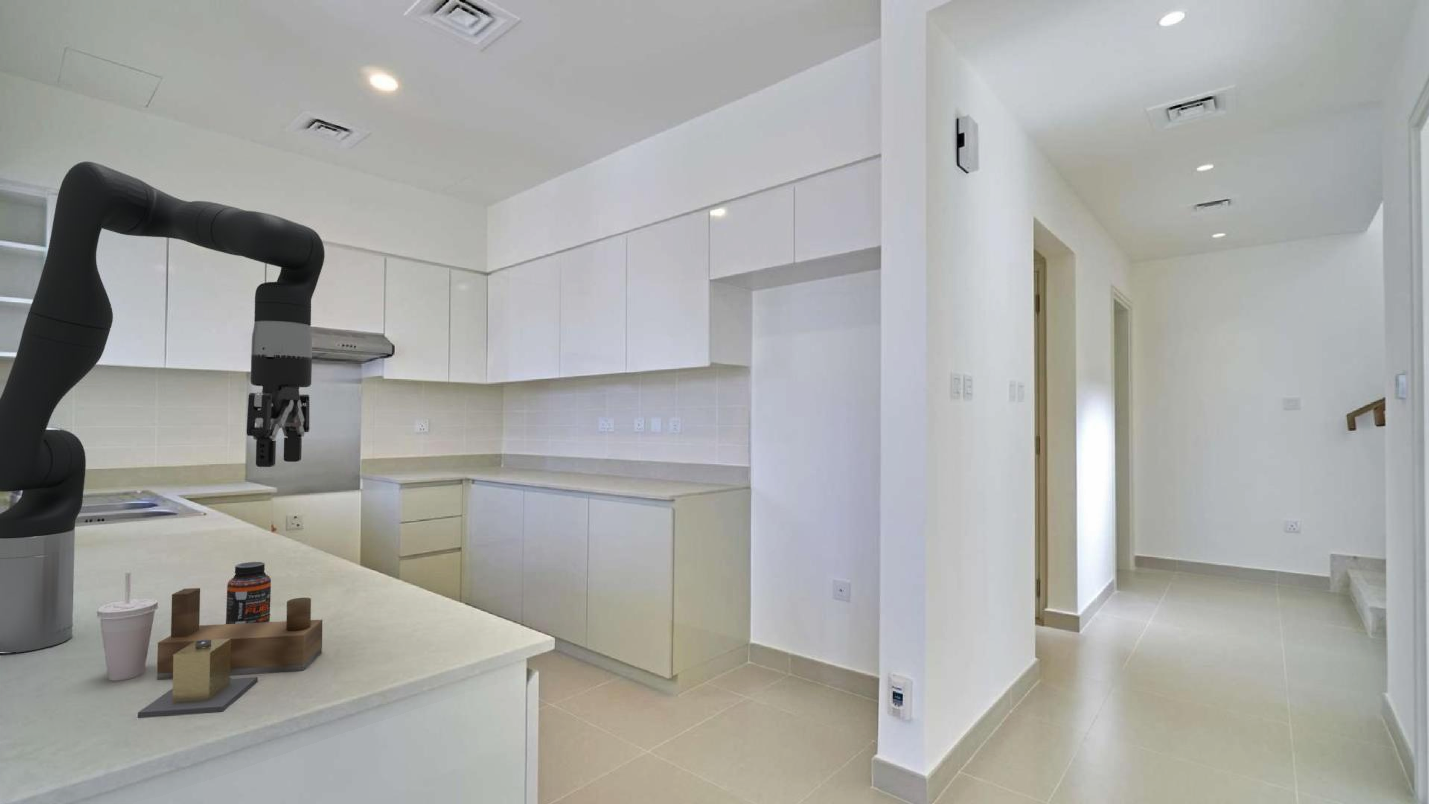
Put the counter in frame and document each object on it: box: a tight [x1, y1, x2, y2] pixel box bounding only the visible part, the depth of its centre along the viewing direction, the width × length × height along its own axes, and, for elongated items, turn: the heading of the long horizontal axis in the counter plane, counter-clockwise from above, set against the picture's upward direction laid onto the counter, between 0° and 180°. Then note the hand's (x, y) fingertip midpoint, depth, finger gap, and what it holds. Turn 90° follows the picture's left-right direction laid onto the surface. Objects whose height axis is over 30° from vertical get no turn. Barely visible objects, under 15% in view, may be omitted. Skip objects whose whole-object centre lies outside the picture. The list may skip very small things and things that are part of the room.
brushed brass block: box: [172, 639, 231, 703], centre depth 84 cm, size 4×5×7 cm
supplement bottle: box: [225, 561, 272, 624], centre depth 108 cm, size 6×6×11 cm
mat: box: [137, 676, 259, 718], centre depth 84 cm, size 9×9×1 cm
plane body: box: [156, 587, 323, 681], centre depth 95 cm, size 18×7×11 cm, turn 102°
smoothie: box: [96, 572, 159, 681], centre depth 91 cm, size 6×6×14 cm
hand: (279, 464), depth 97 cm, fingers open, 8 cm apart
